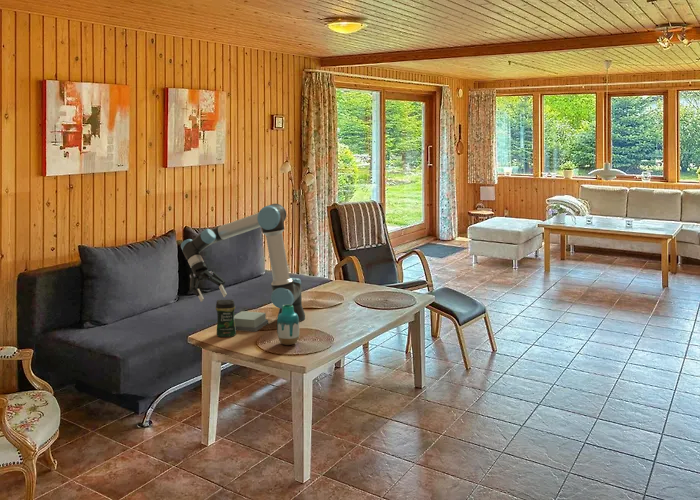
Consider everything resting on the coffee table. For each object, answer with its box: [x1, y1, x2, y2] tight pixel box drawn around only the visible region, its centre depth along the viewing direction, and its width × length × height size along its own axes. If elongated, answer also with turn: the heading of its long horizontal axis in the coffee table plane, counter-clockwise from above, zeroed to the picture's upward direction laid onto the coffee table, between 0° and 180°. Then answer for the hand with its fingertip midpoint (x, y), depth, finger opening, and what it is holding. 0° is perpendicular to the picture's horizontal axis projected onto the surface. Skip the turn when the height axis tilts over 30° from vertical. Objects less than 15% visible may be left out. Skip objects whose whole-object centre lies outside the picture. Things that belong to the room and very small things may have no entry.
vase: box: [276, 304, 300, 346], centre depth 310 cm, size 11×11×19 cm
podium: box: [234, 310, 269, 333], centre depth 341 cm, size 16×16×6 cm
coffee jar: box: [215, 299, 237, 338], centre depth 325 cm, size 10×8×19 cm
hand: (214, 298), depth 330 cm, fingers open, 13 cm apart
